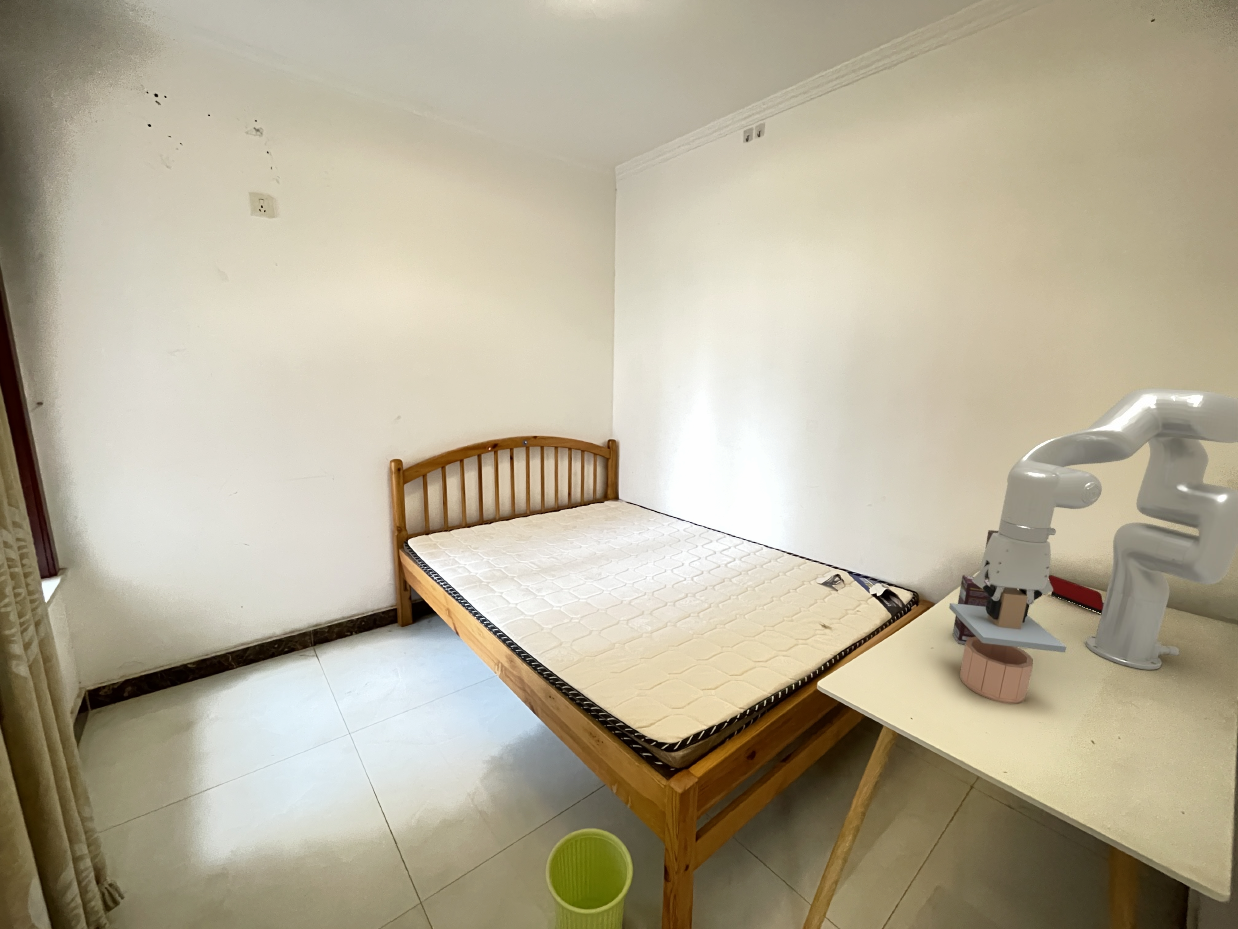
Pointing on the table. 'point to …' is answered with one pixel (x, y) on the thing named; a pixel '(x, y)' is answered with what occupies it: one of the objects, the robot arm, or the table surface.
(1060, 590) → the red slanted piece
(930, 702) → the table surface
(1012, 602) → the cover
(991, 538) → the robot arm
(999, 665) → the bowl
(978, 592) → the supplement box
